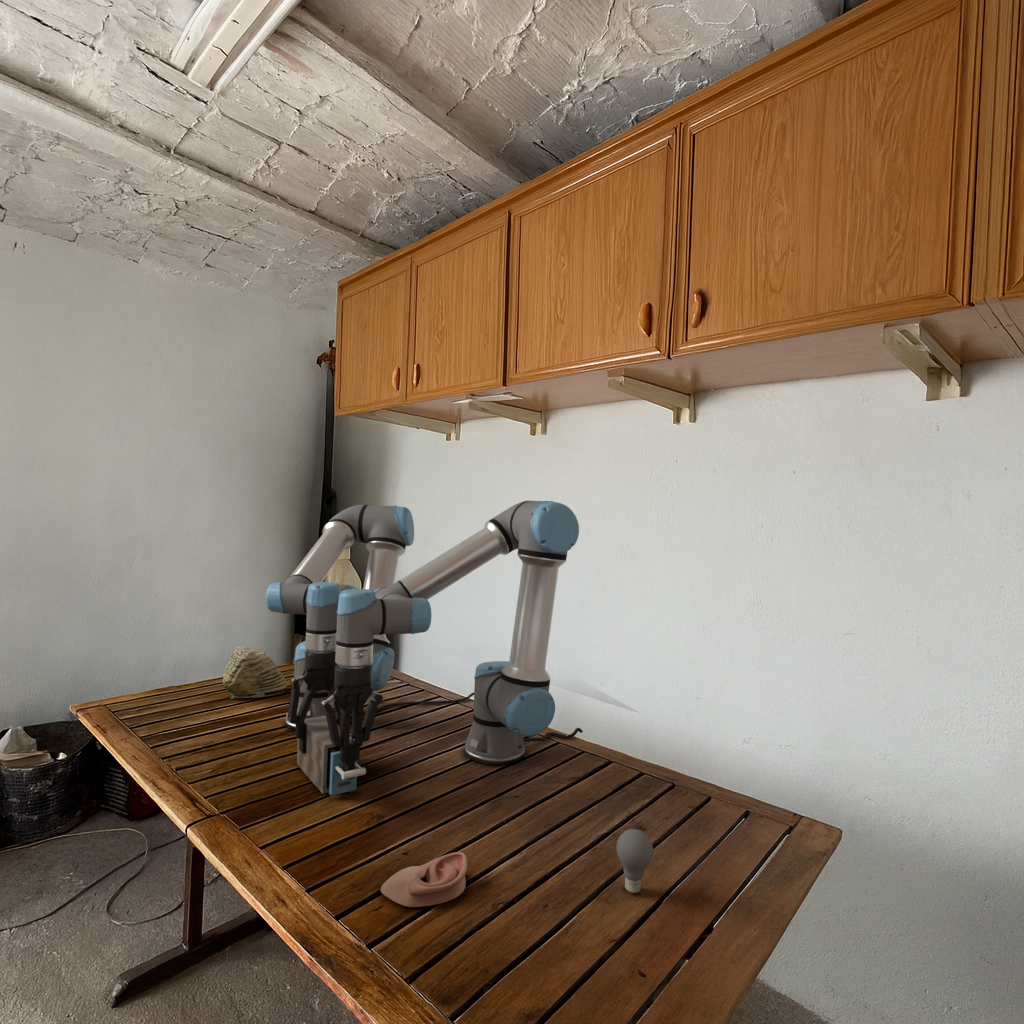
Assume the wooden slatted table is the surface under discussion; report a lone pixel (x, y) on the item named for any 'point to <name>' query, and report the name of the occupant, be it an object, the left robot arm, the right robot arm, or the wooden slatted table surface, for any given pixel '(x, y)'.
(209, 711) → the wooden slatted table surface
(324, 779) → the cabinet
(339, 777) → the drawer
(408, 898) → the anatomical model
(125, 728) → the wooden slatted table surface
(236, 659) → the fossil
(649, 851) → the light bulb
